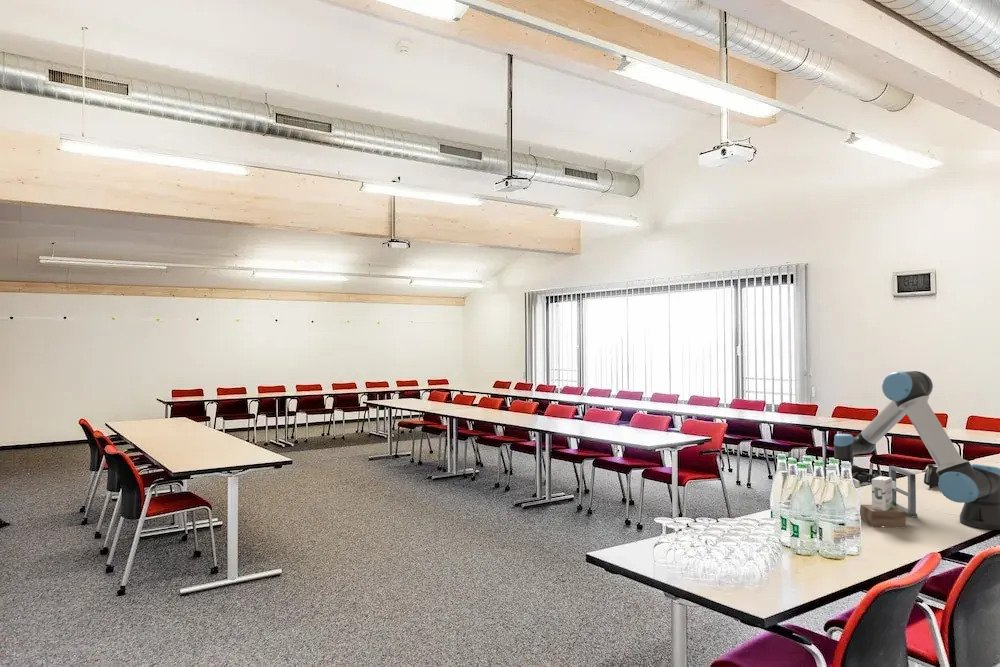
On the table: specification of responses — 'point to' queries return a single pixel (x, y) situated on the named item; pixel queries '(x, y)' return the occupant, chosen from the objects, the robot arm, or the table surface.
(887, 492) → the ink box
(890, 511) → the walnut plinth
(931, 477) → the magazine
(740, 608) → the table surface
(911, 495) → the rack
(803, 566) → the table surface
